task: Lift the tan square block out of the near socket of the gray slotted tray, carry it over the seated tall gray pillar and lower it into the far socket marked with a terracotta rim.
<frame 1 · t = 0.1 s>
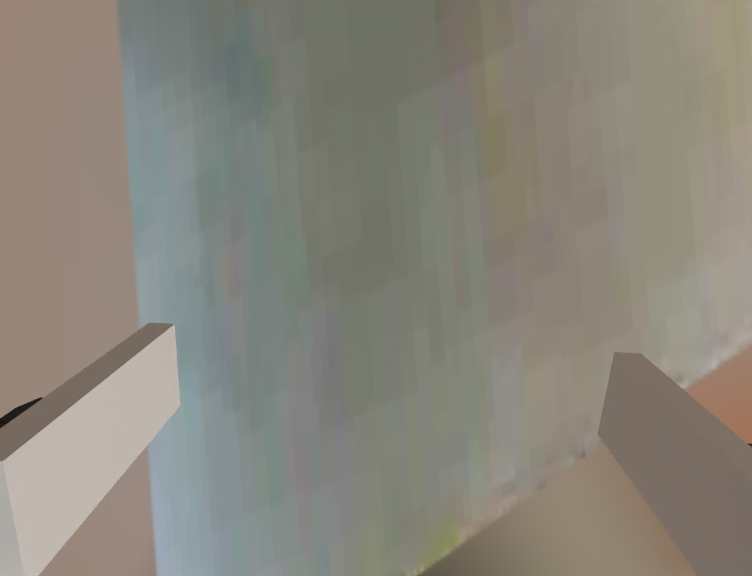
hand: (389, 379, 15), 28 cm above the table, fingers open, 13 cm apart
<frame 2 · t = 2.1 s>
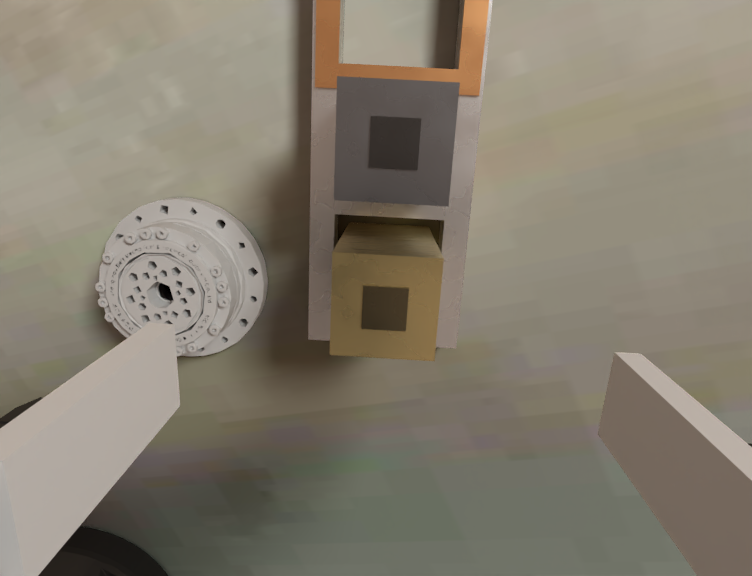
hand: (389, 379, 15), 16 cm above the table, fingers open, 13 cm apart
mechanical component: (193, 275, 31), on the table
tan square block: (386, 262, 30), resting in gray slotted tray
tall gray pillar: (393, 144, 24), in the gray slotted tray
gray slotted tray: (393, 145, 28), on the table
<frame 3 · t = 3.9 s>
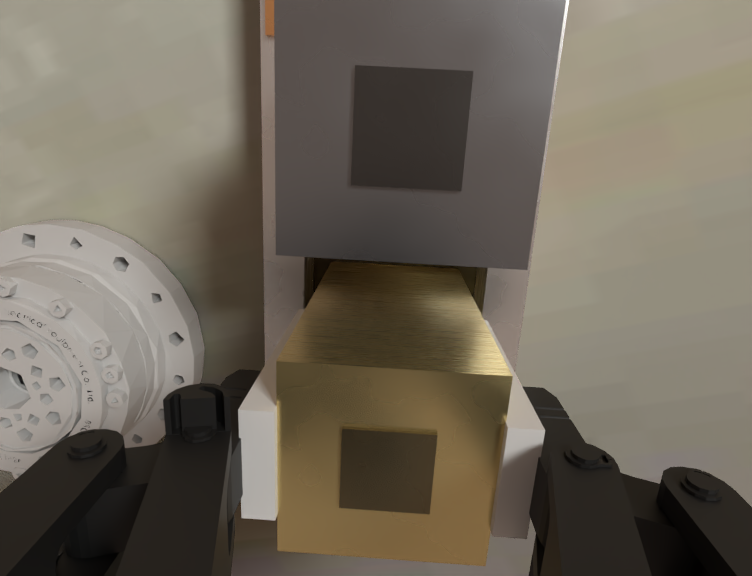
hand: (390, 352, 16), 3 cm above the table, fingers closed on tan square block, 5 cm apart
mechanical component: (91, 336, 20), on the table
tan square block: (390, 323, 19), resting in gray slotted tray, touching gripper
tall gray pillar: (405, 136, 13), in the gray slotted tray
gray slotted tray: (402, 138, 17), on the table
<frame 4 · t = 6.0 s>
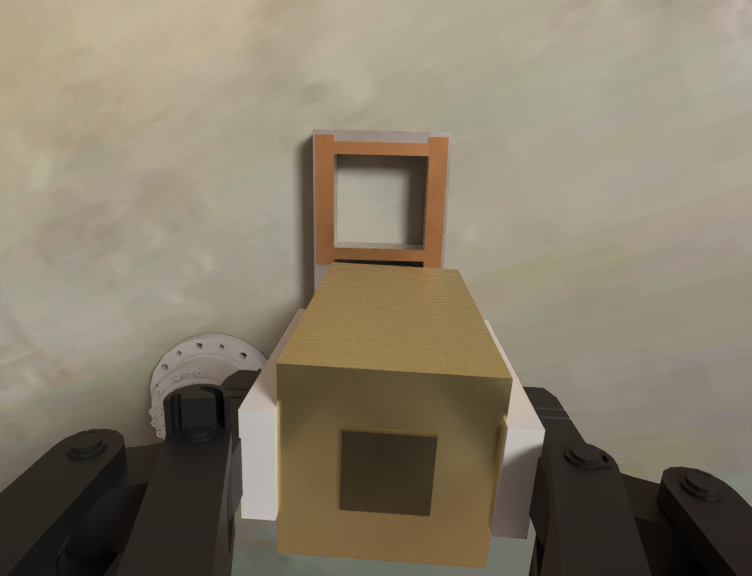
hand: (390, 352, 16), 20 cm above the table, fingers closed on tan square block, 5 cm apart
mechanical component: (220, 388, 39), on the table
tan square block: (391, 324, 19), point 17 cm above the table, touching gripper
gray slotted tray: (378, 294, 36), on the table
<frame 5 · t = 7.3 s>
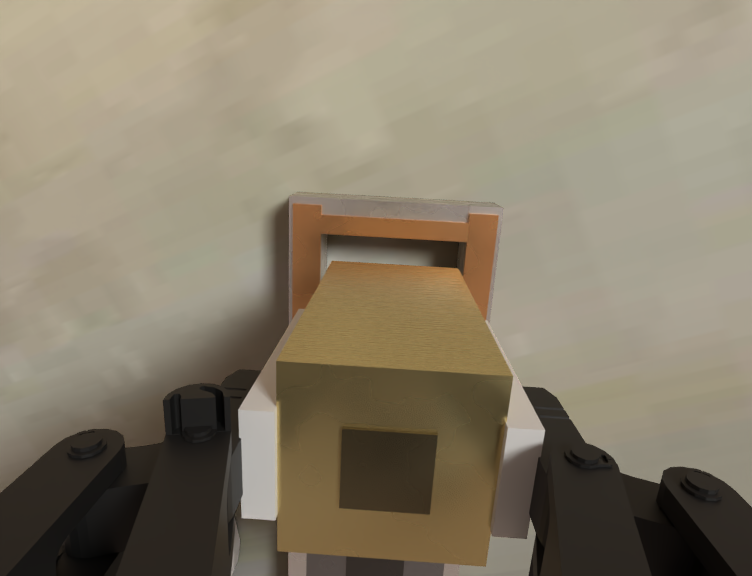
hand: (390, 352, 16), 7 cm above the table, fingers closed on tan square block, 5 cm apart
tan square block: (391, 323, 19), point 5 cm above the table, touching gripper
tall gray pillar: (379, 476, 21), in the gray slotted tray
gray slotted tray: (381, 420, 25), on the table
when the fingers open (4 cm above the table, at t = 8.3 s): tan square block stays where it is, resting in gray slotted tray.
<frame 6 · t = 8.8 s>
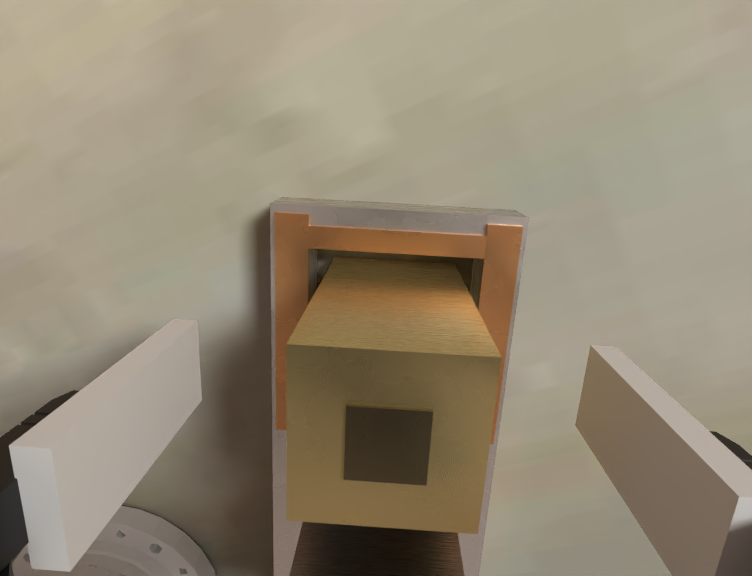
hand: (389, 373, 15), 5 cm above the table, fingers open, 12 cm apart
tan square block: (391, 316, 20), resting in gray slotted tray
tall gray pillar: (378, 537, 18), in the gray slotted tray
gray slotted tray: (381, 461, 22), on the table
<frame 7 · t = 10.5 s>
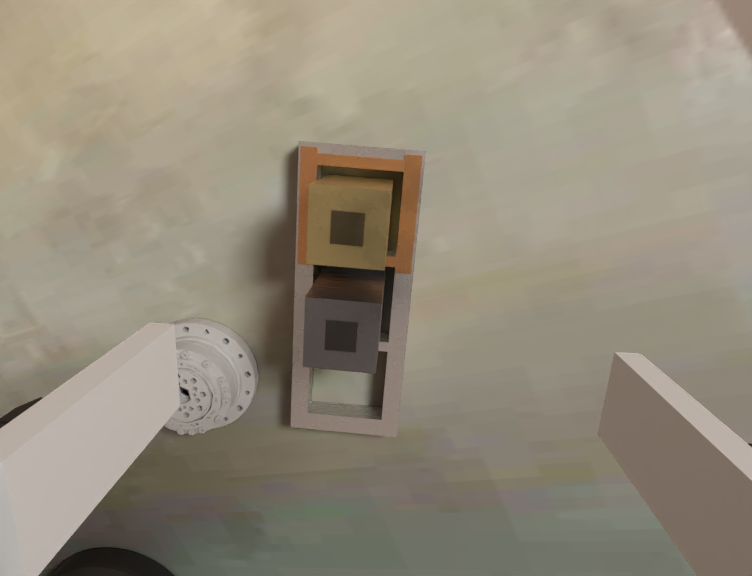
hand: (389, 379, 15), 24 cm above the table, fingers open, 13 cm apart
mechanical component: (204, 369, 43), on the table
tan square block: (359, 208, 37), resting in gray slotted tray
tall gray pillar: (348, 312, 35), in the gray slotted tray
gray slotted tray: (354, 294, 39), on the table
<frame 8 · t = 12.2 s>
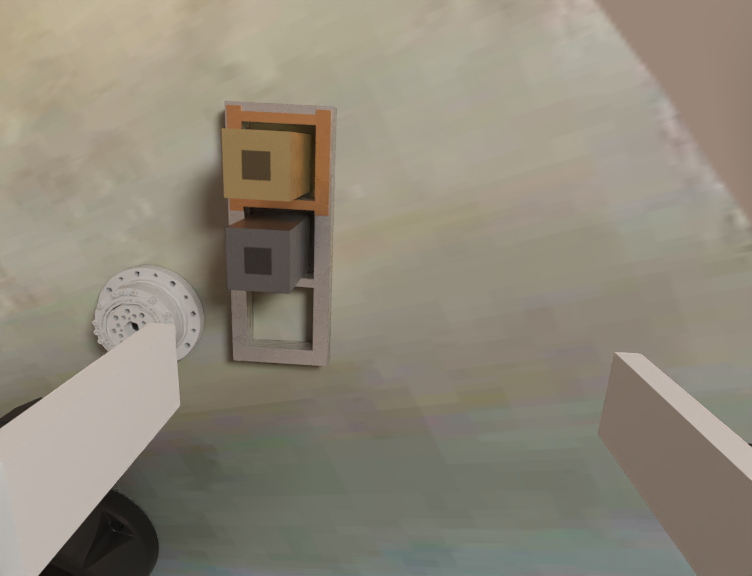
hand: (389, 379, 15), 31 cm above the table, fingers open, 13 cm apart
mechanical component: (156, 312, 48), on the table
tan square block: (284, 161, 43), resting in gray slotted tray
tall gray pillar: (272, 249, 41), in the gray slotted tray
gray slotted tray: (284, 239, 45), on the table
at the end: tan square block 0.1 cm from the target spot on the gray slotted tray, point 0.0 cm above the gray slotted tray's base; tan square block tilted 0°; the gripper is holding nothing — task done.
